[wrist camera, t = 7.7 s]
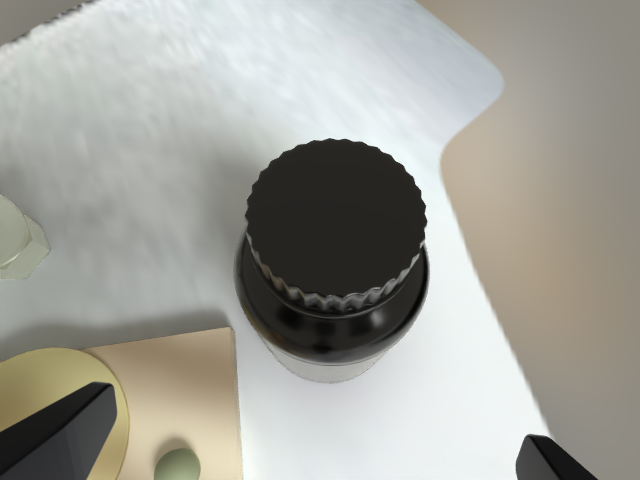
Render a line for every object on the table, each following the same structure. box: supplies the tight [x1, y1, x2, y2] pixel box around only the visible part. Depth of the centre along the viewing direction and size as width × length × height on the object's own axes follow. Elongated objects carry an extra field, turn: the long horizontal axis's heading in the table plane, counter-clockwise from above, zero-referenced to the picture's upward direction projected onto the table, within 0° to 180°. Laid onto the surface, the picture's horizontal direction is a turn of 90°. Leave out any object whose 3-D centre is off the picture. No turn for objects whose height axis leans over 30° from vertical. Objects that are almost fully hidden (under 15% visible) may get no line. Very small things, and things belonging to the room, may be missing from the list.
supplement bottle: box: [234, 138, 430, 383], centre depth 15 cm, size 7×7×12 cm
